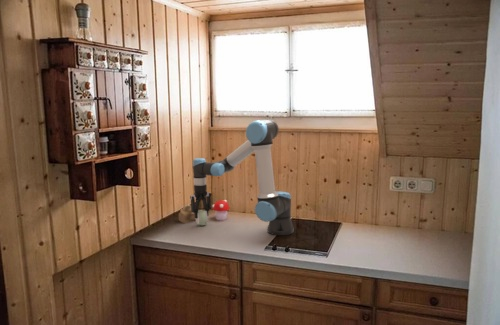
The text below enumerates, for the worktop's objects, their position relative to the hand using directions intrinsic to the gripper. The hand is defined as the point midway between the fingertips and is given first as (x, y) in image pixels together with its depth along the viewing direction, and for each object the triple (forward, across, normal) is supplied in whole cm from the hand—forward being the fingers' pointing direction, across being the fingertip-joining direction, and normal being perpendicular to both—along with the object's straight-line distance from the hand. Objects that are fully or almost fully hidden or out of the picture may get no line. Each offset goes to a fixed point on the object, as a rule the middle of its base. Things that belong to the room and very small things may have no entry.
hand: (201, 222), depth 258 cm
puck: (+1, 0, 0) cm, 1 cm away
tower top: (-3, +3, -14) cm, 15 cm away
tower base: (+2, +2, -14) cm, 15 cm away
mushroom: (+2, -17, -5) cm, 18 cm away
